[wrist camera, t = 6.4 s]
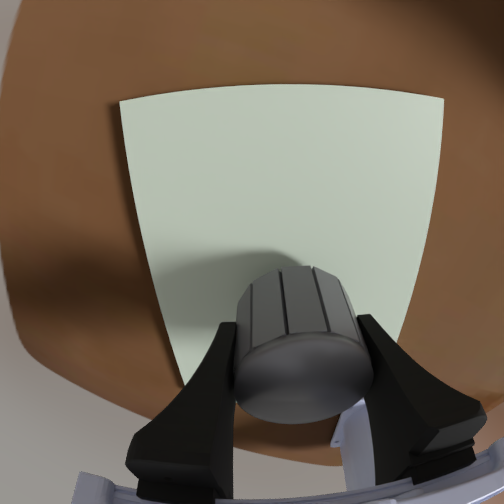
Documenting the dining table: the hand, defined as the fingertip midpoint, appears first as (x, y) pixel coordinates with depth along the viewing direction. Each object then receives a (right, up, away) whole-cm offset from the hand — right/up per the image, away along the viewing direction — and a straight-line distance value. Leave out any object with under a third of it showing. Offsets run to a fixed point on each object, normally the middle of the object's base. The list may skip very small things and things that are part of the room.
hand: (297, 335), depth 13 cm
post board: (0, +2, +4) cm, 4 cm away
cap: (0, +1, +1) cm, 1 cm away
